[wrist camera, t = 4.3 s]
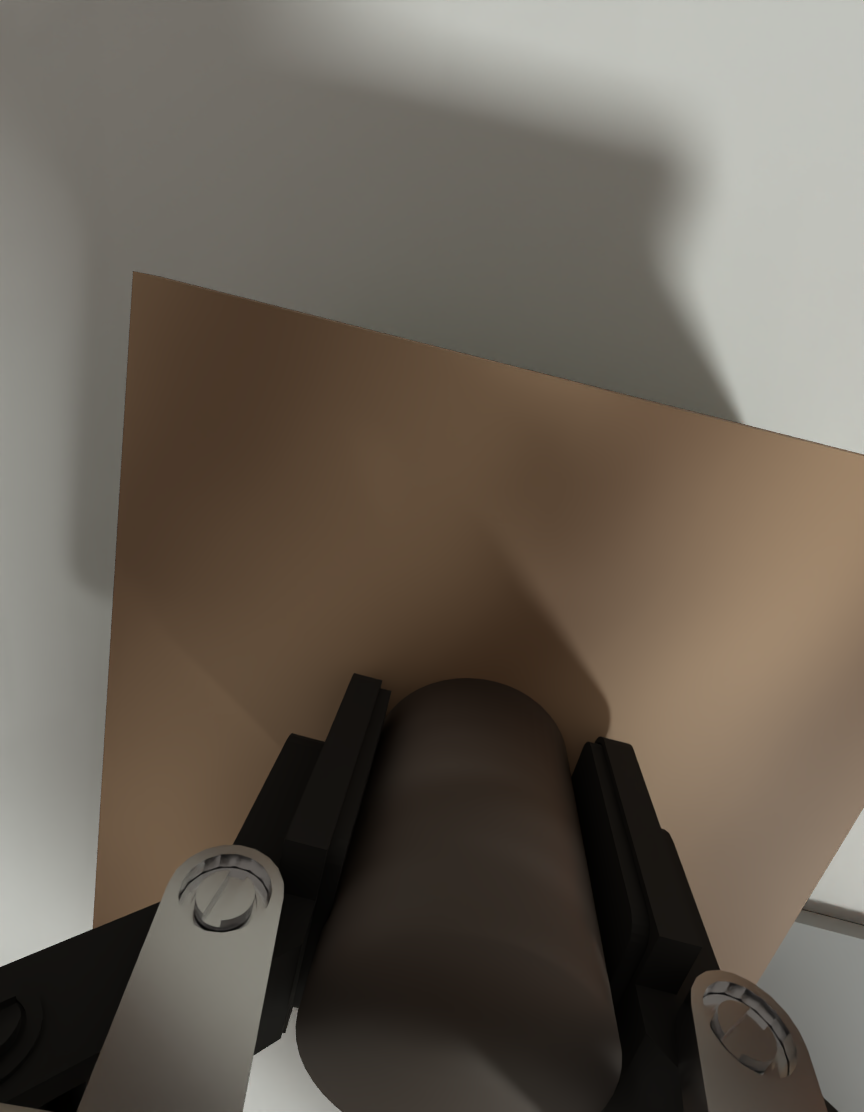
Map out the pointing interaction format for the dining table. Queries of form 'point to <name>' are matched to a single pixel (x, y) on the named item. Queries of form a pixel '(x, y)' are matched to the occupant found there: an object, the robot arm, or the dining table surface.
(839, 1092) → the mat
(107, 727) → the lid
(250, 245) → the dining table surface
